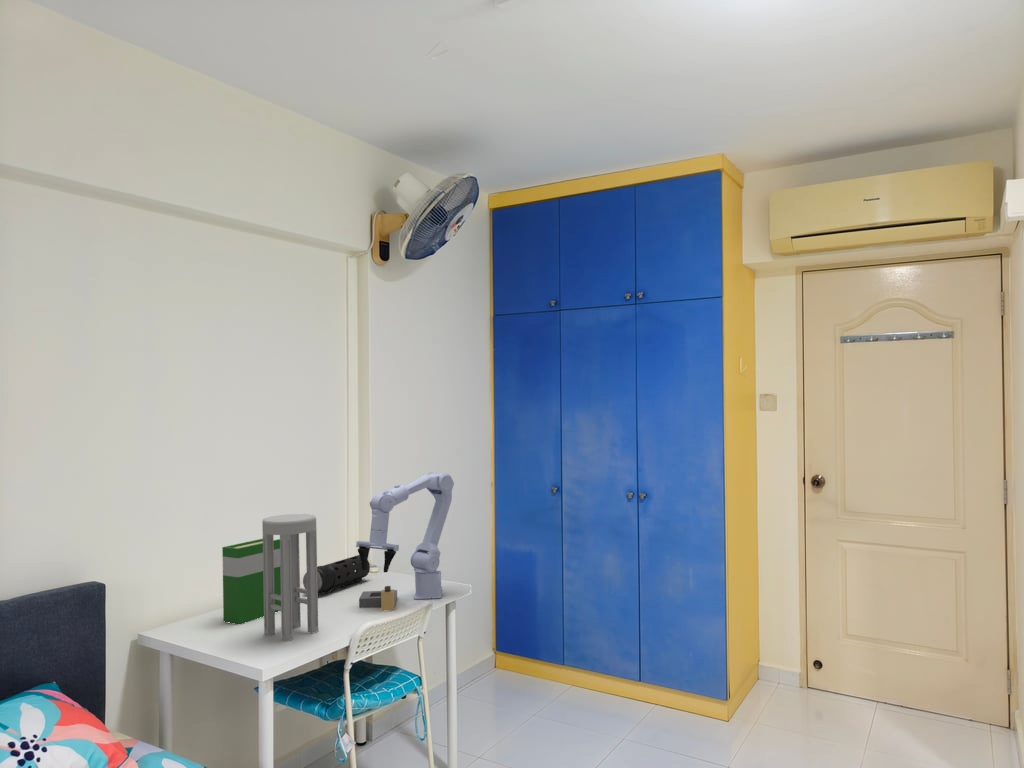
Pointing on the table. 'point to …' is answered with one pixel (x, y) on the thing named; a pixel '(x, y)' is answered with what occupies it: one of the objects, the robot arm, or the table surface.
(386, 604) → the plug
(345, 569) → the muzzle brake
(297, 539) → the stool
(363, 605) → the socket housing
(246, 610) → the hardback book
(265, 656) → the table surface
